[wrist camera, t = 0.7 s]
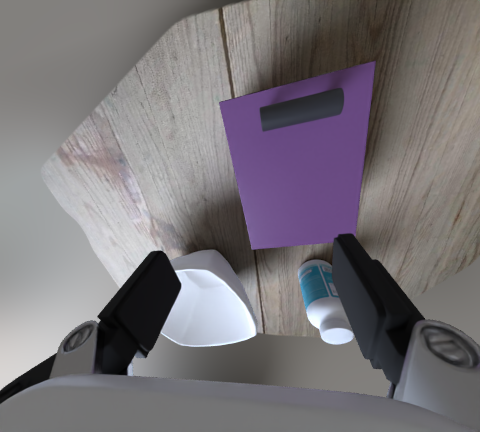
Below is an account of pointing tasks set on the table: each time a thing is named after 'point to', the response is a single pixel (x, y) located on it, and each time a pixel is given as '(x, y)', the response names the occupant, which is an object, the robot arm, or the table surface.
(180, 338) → the bowl
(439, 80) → the table surface
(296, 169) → the lid
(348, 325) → the pill bottle
